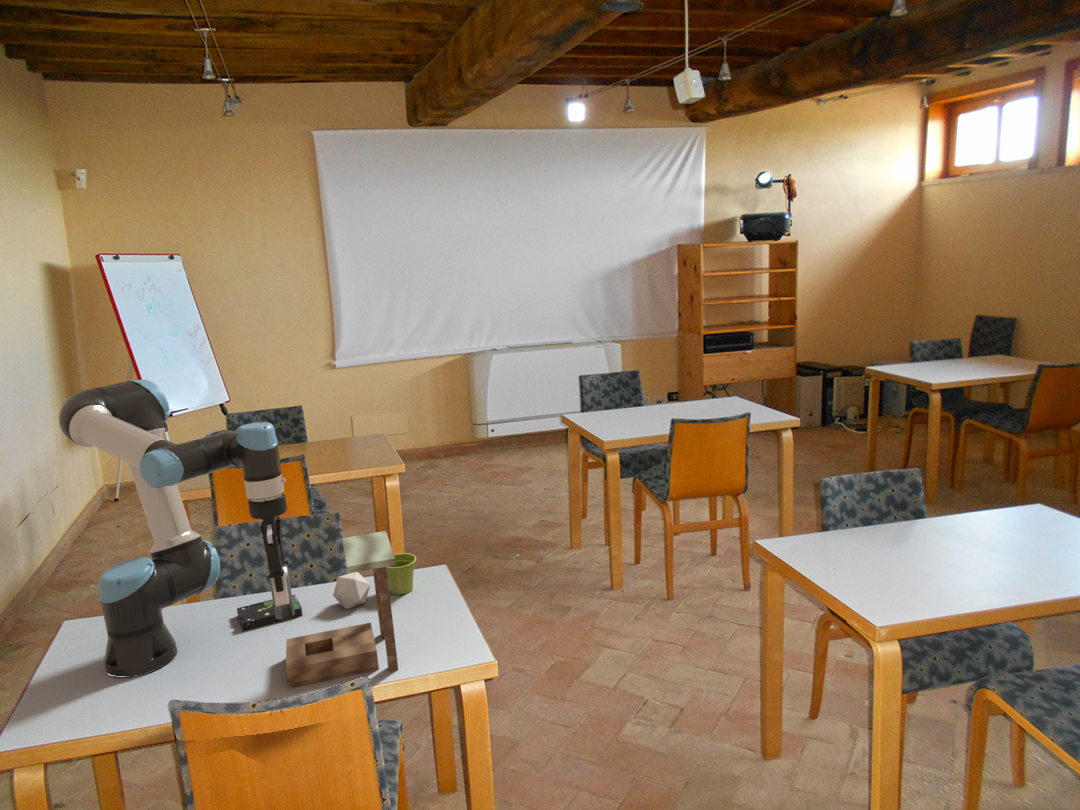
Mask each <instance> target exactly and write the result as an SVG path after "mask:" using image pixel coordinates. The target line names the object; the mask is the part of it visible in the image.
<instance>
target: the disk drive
mask: <svg viewBox="0 0 1080 810" xmlns="http://www.w3.org/2000/svg"><path fill="white" fill-rule="evenodd" d="M292 599H293V605H294V611H295V614H294V615H293V616H292V617H290V618H287V619H281V620H280V619H276V617H275V611H274V605H273V599H269V600H264V601H260V602H257V603H252V604H248V605H245V606H241V607H237V608H236V613H237V617H238V621H239V624H240V628H241V631H242V632H246V631H250V630H255V629H258V628H261V627H266V626H269V625H273V624H276V623H281V622H284V621H287V620H288V621H289V620H292V619H296V618H299V617H303V608H302V606H301V604H300V602H299V600H298V597H297V596H296V594H292Z"/></svg>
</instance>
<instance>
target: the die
mask: <svg viewBox="0 0 1080 810" xmlns="http://www.w3.org/2000/svg"><path fill="white" fill-rule="evenodd" d="M370 587H371V584H370V583H369V582H368V581H367V580H366V579H365V578H364V576H363V575H362V574H360V572H354V573H349V574H348V573H347V574H343V575H340V576H338V577H337V580H336V583H335V587H334V591H333V595H332V596H333V597H334V598H335V599H336V601H337V602H339V604H340V605H342V607H343V608H344V609H346V610H348V609H352V608H354V607H358V606H361V605H364V604H366V601H367V598H368V595H369V591H370Z"/></svg>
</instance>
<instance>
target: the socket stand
mask: <svg viewBox="0 0 1080 810" xmlns="http://www.w3.org/2000/svg"><path fill="white" fill-rule="evenodd" d="M341 540H342V545H343V546H342V547H343V553H344V557H345V564H346V565H345V566H346V571H347V574H349V573H354V572H358V573H360V572H365V571H369V570H372V573H373V581H374V589H375V590H374V591H375V598H376V607H377V608H376V609H377V614H378V615H377V616H378V622H379V632H380V633H379V634H380V638H381V639H384V643H385V652H386V659H387V667H388V671H390V672H393V671H398V670H399V663H398V656H397V655H398V654H397V653H398V652H397V646H396V637H395V636H396V635H395V630H394V629H395V628H394V620H393V619H394V618H393V613H392V612H393V611H392V604H391V602H392V601H391V592H390V589H389V584H388V576H387V567H388V566H393V565H396V561H395V556H394V554H395V553H394V551H393V548H392V544H391V542H390V541H391V540H390V539H389V536H388V533H387V530H383V531H378V532H371V533H366V534H359V535H353V536H347V537H342V538H341ZM285 645H286V647H285V648H286V649H285V651H286V653H285V673H286V678H287V679H286V680H287V686H288V689H293V688H296V687H297V688H298V687H303V686H306V685H307V686H308V685H310V684H316V683H320V682H321V683H322V682H326V681H331V680H336V679H340V678H344V677H348V676H353V675H357V674H363V673H367V672H372V671H376V670H379V669H380V666H379V661H378V660H379V657H378V650H377V646H376V645H377V644H376V640H375V636H374V631H373V627H372V622H367V623H361V624H356V625H352V626H346V627H342V628H337V629H332V630H326V631H321V632H315V633H310V634H306V635H302V636H295V637H290V638H286V644H285Z"/></svg>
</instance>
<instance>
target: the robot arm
mask: <svg viewBox="0 0 1080 810" xmlns="http://www.w3.org/2000/svg"><path fill="white" fill-rule="evenodd" d="M169 411H170V405H169V401H168V399H167V397H166V395H165V393H164V391H163V390H162V389H161V388H160V387H159V386H158V385H157V384H156V383H154V382H153V381H151V380H148V379H137V380H135V379H134V380H126V381H123V382H119V383H113V384H108V385H102V386H98V387H92V388H90V387H89V388H87V389H83V390H80V391H77V392H76V393H74V394H72V395H71V396H70V397H68V399H67V400H66V401H65V402H64V403H63V404H62V407H61V409H60V411H59V415H58V423H59V427H60V429H61V432H62V433H63V435H64V436H65V437H66V438H67V439H68V440H70V441H71V442H73V443H75V444H77V445H79V446H81V447H85V448H93V447H94V448H96V449H98V450H101V451H102V452H105V453H107V454H109V455H111V456H113V457H116V459H119V460H122V461H123V462H125V463H127V465H128V467H129V470H130V473H131V476H132V479H133V483H134V485H135V489H136V491H137V495H138V497H139V501H140V503H141V506H142V509H143V512H144V515H145V519H146V521H147V524H148V528H149V530H150V533H151V536H152V539H153V542H154V543H153V545H152V547H151V549H150V551H149V553H150V555H151V558H152V559H151V558H150V557H147V556H137V557H133V558H132V559H130V558H128V559H126V560H123V561H121V562H118V563H116V564H113V565H112V566H111V567H108V568H107V569H106V570H105V571H104V572H103V573H102V574H101V576H100V577H99V580H98V584H97V586H98V598H99V601H100V603H101V610H102V613H103V618H104V623H105V624H104V625H105V629H106V634H107V642H106V648H105V654H104V659H103V666H104V671H105V670H106V671H105V673H106V672H107V673H109V674H111V675H115V676H134V675H139V676H141V675H140V674H143V675H145V674H144V673H146V674H148V673H147V672H149V673H151V672H150V671H152V672H154V671H156V670H155V669H157V670H159V669H161V668H163V667H164V666H166V665H168V664H169V663H170V662H172V661H173V660H174V659H175V658H176V656H177V654H178V646H177V643H176V640H175V638H174V637H173V635H172V634H171V632H170V630H169V629H168V627H167V625H166V623H165V622H164V616H163V612H162V610H164V609H165V608H168V607H170V606H172V605H175V604H177V603H180V602H181V601H183V600H185V599H188V598H190V597H192V596H195V595H200V594H201V593H202V592H204V591H206V590H208V589H210V588H212V587H213V586H214V585H215V584H216V582H217V581H218V579H219V576H220V572H221V562H220V557H219V554H218V551H217V549H216V548H215V547H214V545H213V544H212V543H211V541H209V540H204V539H203V538H202V535H201V534H200V533H197V532H195V531H193V530H192V527H191V523H190V521H189V519H188V518H189V517H188V515H187V512H186V508H185V506H184V503H183V500H182V496H181V493H180V490H179V487H178V485H177V484H180V483H182V482H186V481H188V480H191V479H195V478H197V477H201V476H204V475H208V474H211V473H215V472H218V471H221V470H224V469H227V468H239V469H242V472H243V474H242V475H243V483H244V488H245V495H246V498H247V499H249V500H248V501H247V505H248V510H249V511H248V512H249V516H250V518H252V519H255V520H262V521H261V522H260V523H261V525H260V533H261V535H262V540H263V545H264V548H265V554H266V561H267V566H268V568H269V573H270V574H268V575H267V576H266V577H267V578H266V579H268V580H269V578H271V579H272V586H273V592H274V598H275V604H276V606H279V605H284V604H289V598H288V592H287V585H286V579H285V574H284V572H283V566H282V564H286V565H287V566H289V560H286V555H285V551H284V544H283V531H282V519H281V518H280V516H281V515H283V514H285V513H286V512H287V510H288V504H287V499H286V498H287V496H286V495H285V494H284V492H285V487H284V483H286V482H287V478H285V477H282V476H283V473H282V465H281V459H280V453H279V451H280V450H279V445H278V442H279V441H278V438H277V436H276V431H275V427H274V425H273V424H272V423H270V422H268V421H267V422H266V421H263V422H251V423H246V424H244V425H243V424H242V425H240V426H238V427H237V429H236V431H234V430H229V429H221V430H212V431H211V432H209V433H207V434H206V435H205V436H203V437H202V438H197V439H194V440H193V439H192V440H190V441H184V442H181V443H175V442H173V441H170V440H168V439H165V438H163V435H164V432H166V427H165V423H166V422H167V421H168V420H169V418H170V412H169ZM167 663H168V664H167ZM162 666H163V667H162ZM160 667H161V668H160ZM158 668H159V669H158ZM153 670H154V671H153ZM107 673H106V674H107ZM134 677H135V676H134Z"/></svg>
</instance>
